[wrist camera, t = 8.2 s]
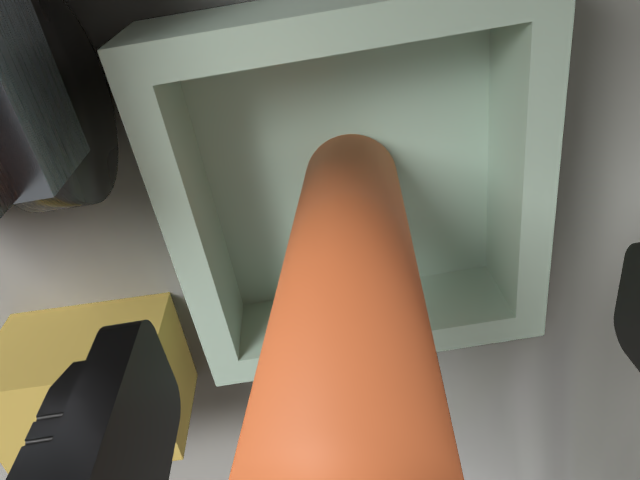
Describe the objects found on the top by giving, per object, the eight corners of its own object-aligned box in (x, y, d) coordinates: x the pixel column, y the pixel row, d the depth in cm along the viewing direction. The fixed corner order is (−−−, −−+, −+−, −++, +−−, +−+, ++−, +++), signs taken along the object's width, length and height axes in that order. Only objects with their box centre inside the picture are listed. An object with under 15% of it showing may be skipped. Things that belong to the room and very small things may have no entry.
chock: (12, 311, 17) (-45, 398, 14) (170, 289, 17) (147, 371, 14) (55, 391, 19) (14, 482, 16) (197, 372, 19) (183, 459, 16)
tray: (133, 21, 13) (97, 50, 10) (517, -45, 12) (578, -32, 10) (225, 316, 17) (216, 386, 15) (504, 272, 17) (544, 335, 15)
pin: (299, 140, 14) (197, 437, 5) (393, 128, 14) (467, 419, 5) (313, 225, 15) (249, 600, 6) (400, 215, 15) (473, 593, 6)
